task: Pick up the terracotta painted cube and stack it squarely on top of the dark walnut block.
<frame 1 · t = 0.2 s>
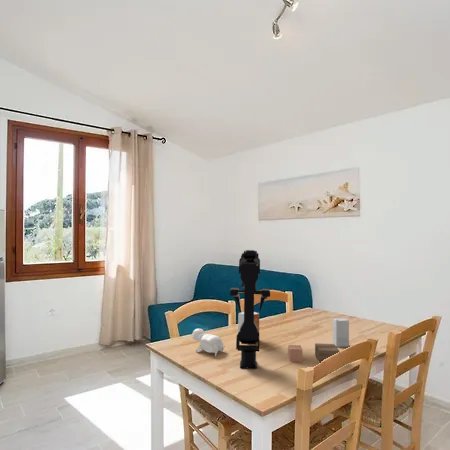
hand: (249, 310, 159), 14 cm above the table, fingers open, 9 cm apart
walnut block: (326, 359, 139), on the table
skincare box: (340, 346, 154), on the table
terracotta cube: (295, 359, 138), on the table
small box: (248, 341, 160), on the table
white animal figurine: (207, 351, 146), on the table
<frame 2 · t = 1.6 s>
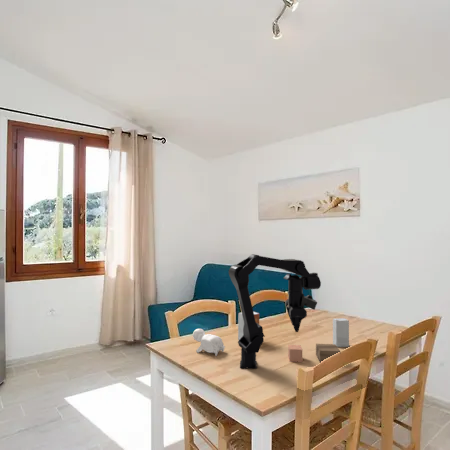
hand: (295, 328, 138), 12 cm above the table, fingers open, 9 cm apart
nothing on the table moved.
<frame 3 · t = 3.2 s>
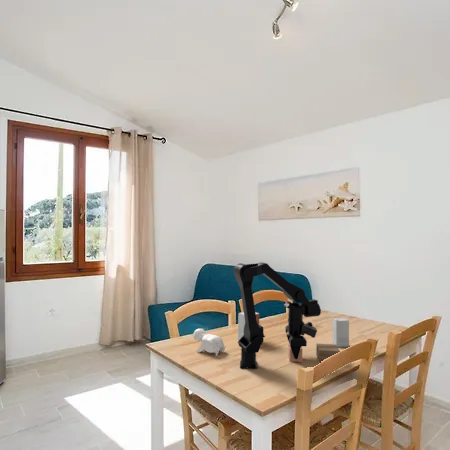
hand: (295, 356, 138), 1 cm above the table, fingers closed on terracotta cube, 5 cm apart
terracotta cube: (295, 359, 138), on the table, touching gripper
everything else where it was.
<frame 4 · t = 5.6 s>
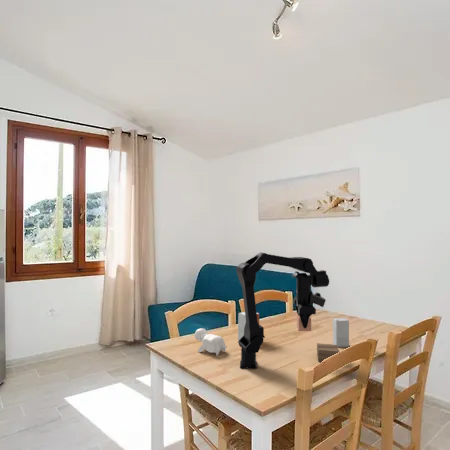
hand: (303, 326, 138), 13 cm above the table, fingers closed on terracotta cube, 5 cm apart
terracotta cube: (303, 329, 138), point 12 cm above the table, touching gripper
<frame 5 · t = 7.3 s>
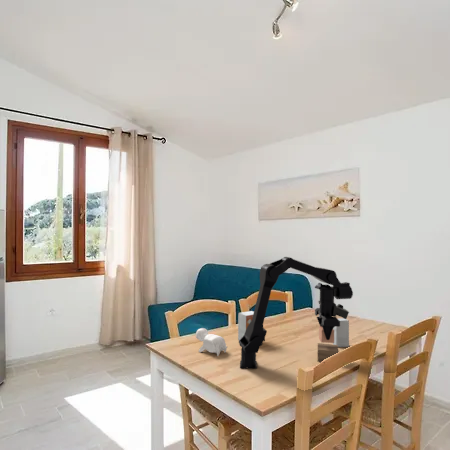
hand: (326, 337, 139), 9 cm above the table, fingers closed on terracotta cube, 5 cm apart
terracotta cube: (326, 340, 139), point 7 cm above the table, touching gripper
when the fingers open (8 cm above the table, at t = 8.3 s): terracotta cube drops 2 cm, point 5 cm above the table.
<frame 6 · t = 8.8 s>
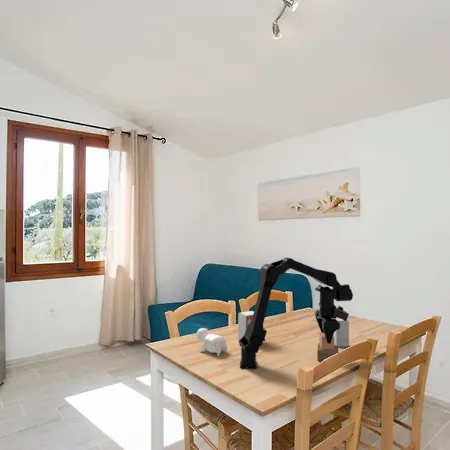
hand: (326, 339, 139), 8 cm above the table, fingers open, 9 cm apart
terracotta cube: (326, 347, 139), point 5 cm above the table
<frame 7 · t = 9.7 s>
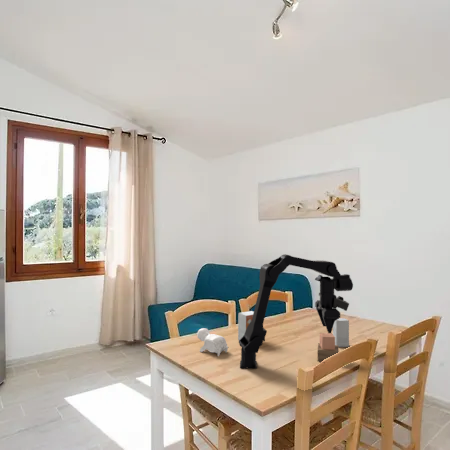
hand: (326, 329, 139), 12 cm above the table, fingers open, 9 cm apart
walnut block: (328, 359, 138), on the table, touching terracotta cube
terracotta cube: (327, 347, 139), point 5 cm above the table, touching walnut block
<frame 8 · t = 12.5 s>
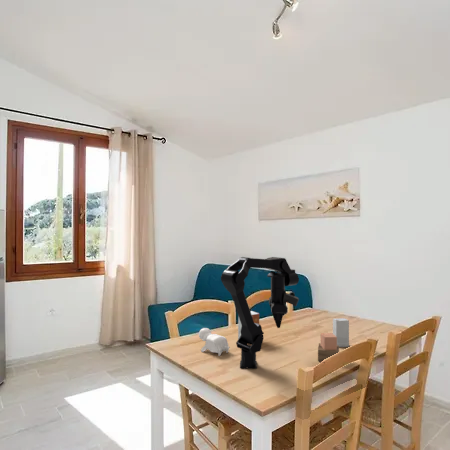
hand: (277, 324, 141), 13 cm above the table, fingers open, 9 cm apart
walnut block: (328, 359, 138), on the table
terracotta cube: (328, 347, 138), point 5 cm above the table
at the end: terracotta cube 0.1 cm off-centre on the walnut block, point 5.0 cm above the walnut block's base; terracotta cube tilted 0°; the gripper is holding nothing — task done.
